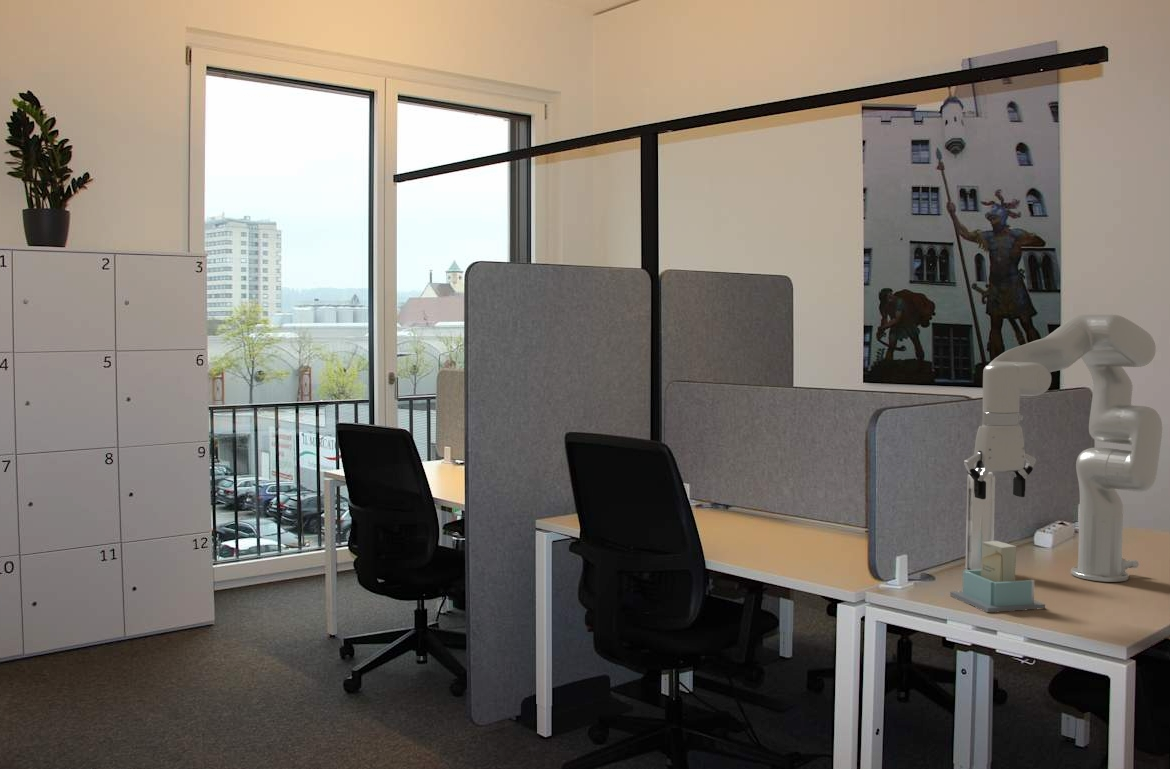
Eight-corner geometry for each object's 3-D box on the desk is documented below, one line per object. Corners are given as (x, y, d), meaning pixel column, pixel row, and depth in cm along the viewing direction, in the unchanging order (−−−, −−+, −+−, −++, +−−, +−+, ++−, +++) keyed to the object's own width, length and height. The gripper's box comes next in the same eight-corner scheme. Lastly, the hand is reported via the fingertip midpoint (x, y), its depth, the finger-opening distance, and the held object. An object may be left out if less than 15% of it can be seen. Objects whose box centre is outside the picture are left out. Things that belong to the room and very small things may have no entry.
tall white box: (995, 574, 247) (997, 473, 246) (967, 572, 249) (969, 473, 247) (990, 567, 254) (992, 470, 252) (963, 566, 255) (965, 469, 254)
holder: (1004, 592, 230) (1005, 566, 230) (1045, 608, 217) (1045, 581, 216) (950, 595, 227) (950, 569, 227) (987, 612, 214) (988, 585, 213)
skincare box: (979, 595, 224) (980, 541, 223) (995, 593, 226) (996, 540, 225) (1000, 602, 218) (1001, 547, 218) (1016, 600, 220) (1017, 545, 219)
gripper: (1024, 417, 225) (1023, 492, 226) (955, 419, 221) (954, 496, 222) (1046, 420, 218) (1045, 498, 219) (976, 423, 214) (974, 502, 215)
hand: (999, 497), depth 221 cm, fingers open, 9 cm apart
